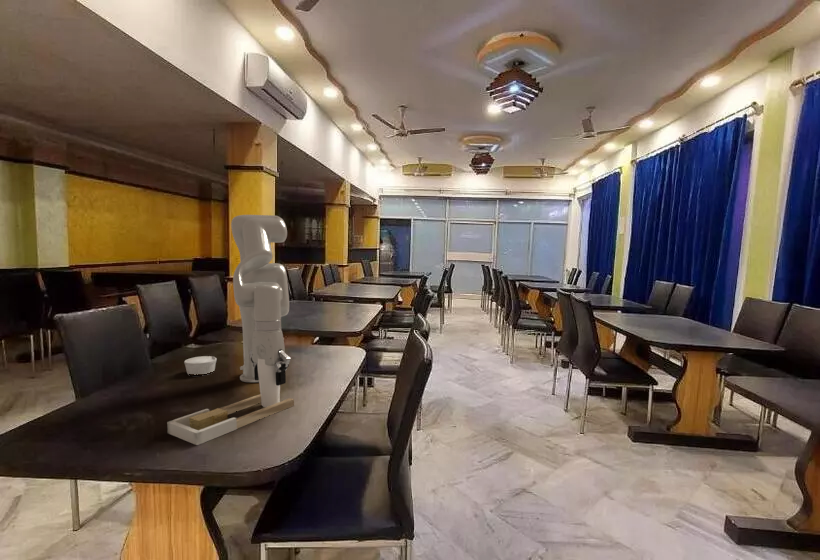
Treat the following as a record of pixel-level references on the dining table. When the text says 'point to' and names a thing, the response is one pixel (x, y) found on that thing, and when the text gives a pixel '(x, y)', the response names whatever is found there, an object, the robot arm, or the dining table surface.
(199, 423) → the tan cube
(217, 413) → the wooden cube
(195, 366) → the ramekin
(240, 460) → the dining table surface
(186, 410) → the dining table surface
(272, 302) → the robot arm
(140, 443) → the dining table surface
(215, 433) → the u-shaped frame
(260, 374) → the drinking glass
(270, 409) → the channel
